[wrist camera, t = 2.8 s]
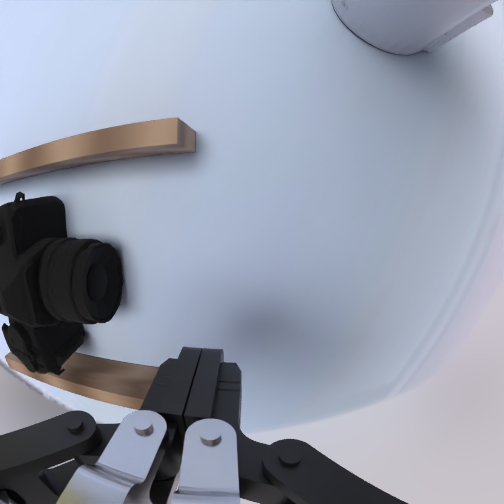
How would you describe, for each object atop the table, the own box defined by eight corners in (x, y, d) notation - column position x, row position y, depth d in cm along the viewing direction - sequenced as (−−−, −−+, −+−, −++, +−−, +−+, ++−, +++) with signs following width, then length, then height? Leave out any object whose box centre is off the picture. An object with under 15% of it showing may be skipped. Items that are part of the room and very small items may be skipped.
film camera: (138, 354, 22) (97, 421, 14) (61, 338, 23) (12, 385, 14) (120, 181, 19) (41, 186, 10) (37, 190, 19) (-36, 201, 10)
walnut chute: (195, 131, 18) (177, 117, 13) (208, 384, 23) (199, 418, 18) (-3, 171, 18) (-32, 173, 14) (30, 349, 23) (9, 367, 19)
